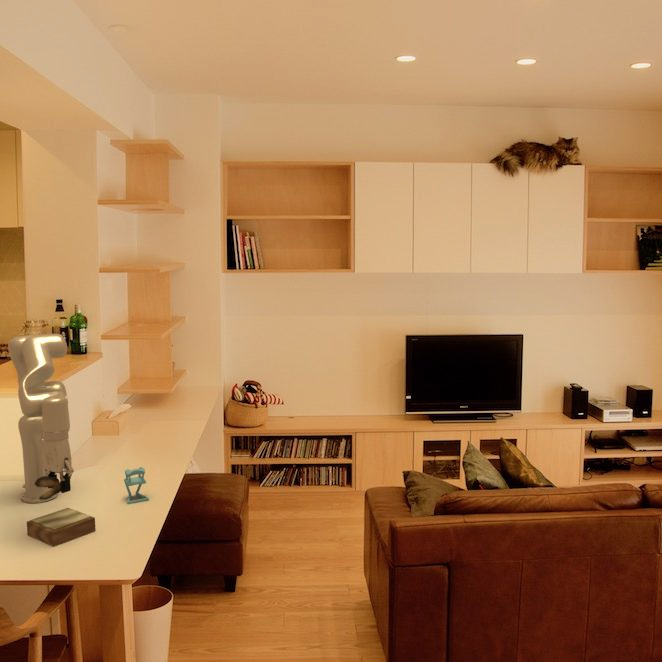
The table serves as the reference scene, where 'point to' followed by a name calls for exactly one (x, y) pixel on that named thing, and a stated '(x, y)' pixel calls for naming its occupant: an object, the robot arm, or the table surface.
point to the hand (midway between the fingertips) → (59, 489)
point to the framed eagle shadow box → (60, 526)
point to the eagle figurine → (48, 482)
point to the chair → (135, 483)
